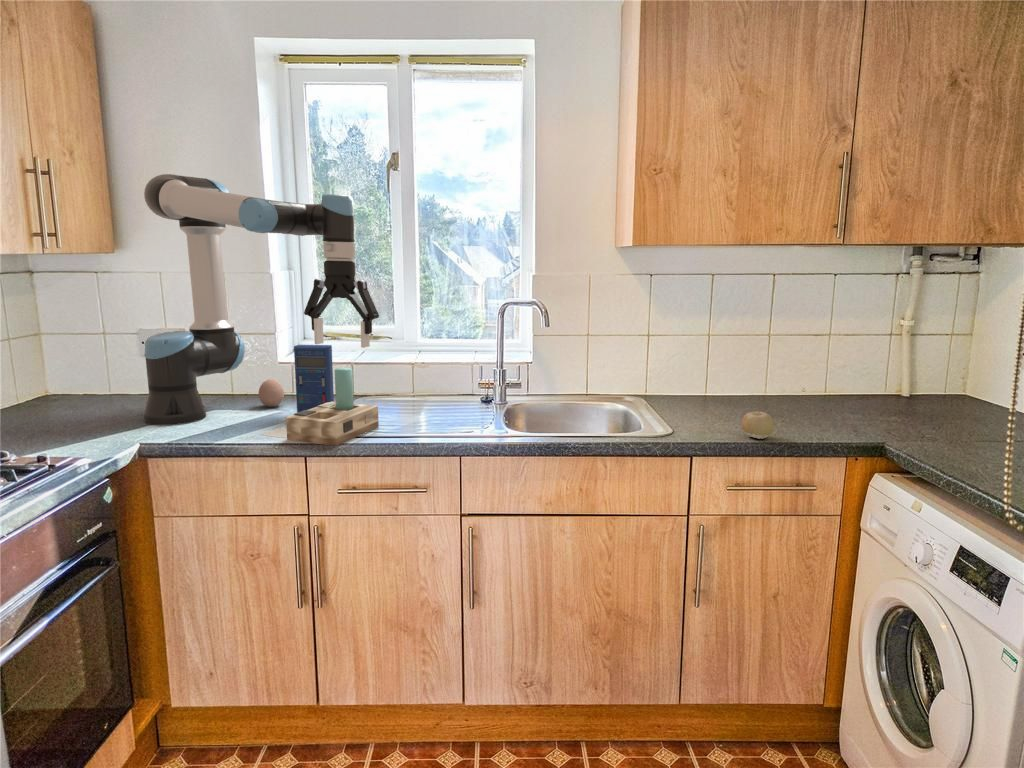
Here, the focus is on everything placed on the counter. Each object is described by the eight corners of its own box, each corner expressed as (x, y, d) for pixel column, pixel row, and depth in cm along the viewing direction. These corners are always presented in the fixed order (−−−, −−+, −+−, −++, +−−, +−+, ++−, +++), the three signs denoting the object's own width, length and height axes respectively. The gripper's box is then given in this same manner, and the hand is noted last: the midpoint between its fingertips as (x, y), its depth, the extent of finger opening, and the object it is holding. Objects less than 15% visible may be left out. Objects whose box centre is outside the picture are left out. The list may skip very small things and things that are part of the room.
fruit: (772, 436, 167) (775, 406, 166) (771, 443, 161) (774, 412, 159) (742, 432, 170) (744, 403, 169) (739, 439, 164) (742, 409, 162)
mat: (259, 436, 160) (259, 434, 160) (280, 428, 167) (280, 427, 167) (286, 439, 157) (286, 438, 157) (306, 431, 165) (306, 430, 165)
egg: (254, 406, 192) (252, 379, 190) (276, 402, 197) (275, 376, 195) (267, 410, 187) (265, 382, 186) (289, 406, 192) (288, 379, 191)
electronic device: (296, 418, 179) (292, 346, 175) (301, 413, 184) (298, 344, 180) (330, 418, 179) (327, 347, 175) (335, 414, 184) (332, 344, 180)
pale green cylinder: (333, 423, 165) (331, 370, 163) (342, 419, 170) (341, 367, 167) (347, 425, 164) (346, 371, 161) (357, 421, 168) (355, 368, 166)
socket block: (287, 441, 156) (285, 415, 155) (332, 423, 174) (332, 400, 173) (337, 447, 152) (336, 421, 150) (379, 428, 169) (378, 404, 168)
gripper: (287, 258, 159) (291, 343, 164) (375, 261, 152) (377, 350, 156) (306, 259, 166) (309, 340, 171) (391, 261, 159) (393, 346, 163)
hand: (342, 345), depth 163 cm, fingers open, 13 cm apart
